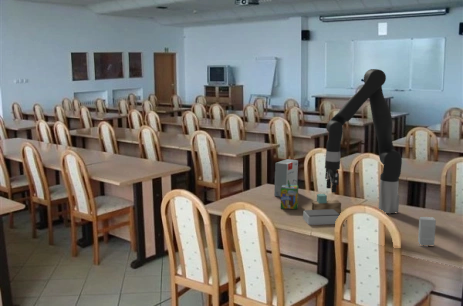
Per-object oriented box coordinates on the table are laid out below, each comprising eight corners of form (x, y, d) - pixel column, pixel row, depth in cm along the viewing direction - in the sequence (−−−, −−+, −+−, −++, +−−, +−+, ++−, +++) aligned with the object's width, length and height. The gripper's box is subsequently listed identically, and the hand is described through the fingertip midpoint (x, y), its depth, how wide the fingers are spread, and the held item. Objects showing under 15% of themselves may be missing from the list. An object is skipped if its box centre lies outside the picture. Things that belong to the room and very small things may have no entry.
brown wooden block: (337, 211, 267) (338, 200, 266) (340, 214, 262) (341, 202, 261) (311, 212, 265) (312, 201, 264) (314, 215, 260) (314, 203, 259)
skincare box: (431, 243, 219) (434, 217, 217) (434, 247, 215) (436, 220, 213) (417, 242, 220) (419, 216, 218) (419, 246, 216) (421, 219, 214)
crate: (324, 201, 264) (324, 193, 264) (326, 203, 260) (326, 195, 260) (316, 201, 264) (317, 193, 263) (319, 203, 260) (319, 195, 259)
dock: (333, 217, 255) (334, 208, 255) (340, 223, 246) (340, 214, 245) (303, 218, 254) (303, 209, 253) (308, 224, 244) (308, 215, 243)
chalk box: (297, 209, 268) (298, 182, 266) (280, 208, 270) (280, 181, 268) (298, 205, 277) (299, 178, 275) (281, 204, 279) (282, 178, 276)
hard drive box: (285, 198, 291) (286, 164, 288) (273, 196, 295) (274, 162, 292) (297, 192, 304) (298, 160, 300) (286, 190, 308) (286, 158, 305)
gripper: (344, 162, 252) (342, 193, 255) (335, 157, 266) (333, 186, 269) (330, 162, 251) (328, 194, 254) (321, 157, 265) (320, 187, 268)
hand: (331, 190), depth 262 cm, fingers open, 8 cm apart
